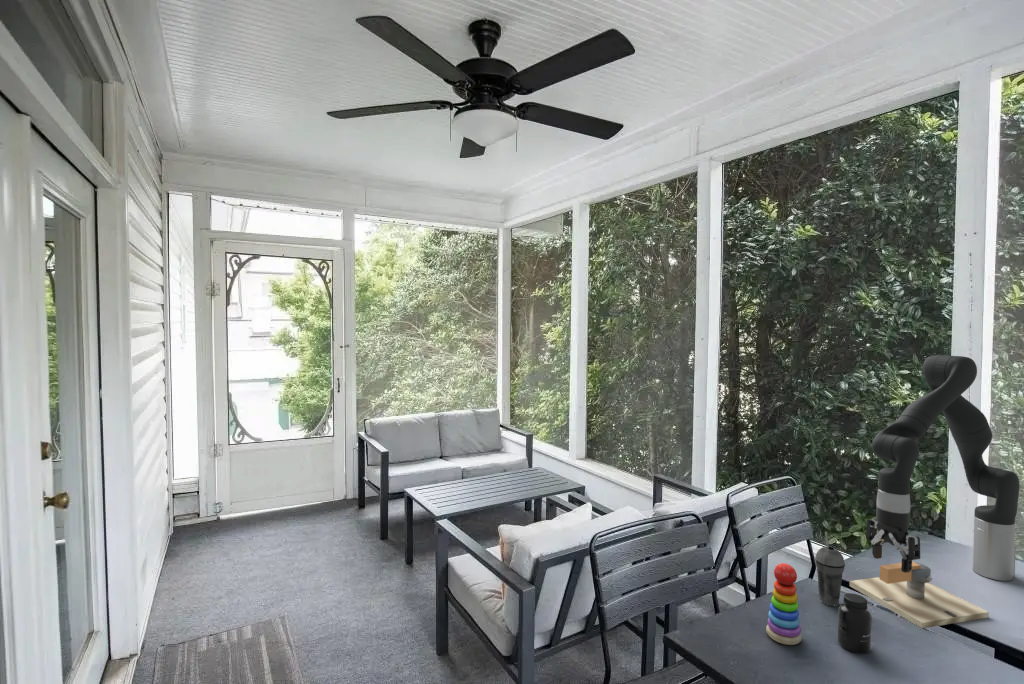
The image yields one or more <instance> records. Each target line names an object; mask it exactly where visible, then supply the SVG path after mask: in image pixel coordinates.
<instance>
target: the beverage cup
mask: <svg viewBox="0 0 1024 684" xmlns="http://www.w3.org/2000/svg"><path fill="white" fill-rule="evenodd" d="M824 533H825V534H824V535H825V544H826V546H823V547H821V548H819V549H818V550H817V552H816V554H815V558H814V560H815V567H816V572H817V585H818V595H819V601H820V600H821V601H822V602H823V603H825V604H828V605H833V606H832V607H837V606H836V605H839V602H840V598H841V589H842V582H843V581H842V580H843V573H844V570H845V566H846V564H845V559H844V556H843V555H842V553H841V552H840V551H839V550H838V549H836V548H835V547H832V546H829V537H828V531H825V532H824ZM821 601H820V602H821ZM822 602H821V603H822ZM823 603H822V604H823ZM825 604H824V605H825ZM828 605H827V606H828ZM834 605H835V606H834Z"/></svg>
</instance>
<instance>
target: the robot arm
mask: <svg viewBox="0 0 1024 684" xmlns="http://www.w3.org/2000/svg"><path fill="white" fill-rule="evenodd" d="M922 372H923V376H924V380H925V382H926V384H927V385H928V387H929V389H930V392H928V393H926V394H924V395H923V396H921V397H919V398H917V399H915V400H913V401H912V402H910V403H909V405H907V406H906V408H904V409H903V411H902V412H901V414H900V415H899V417H898V418H897V419H896V420H895V421H894V422H892V423H890V424H889V425H887V426H886V427H885V428H883V429H882V430H881V431H879V432H878V433H877V434H876V435H875V436H874V438H873V440H872V442H871V451H872V453H873V454H874V455H875V456H876V457H878V458H881V459H884V460H889V461H893V462H896V465H895V467H882V468H881V469H879V471H878V481H877V482H878V488H877V494H876V510H875V511H876V512H875V518H871V519H867V521H866V528H865V529H866V531H865V539H866V540H868V541H869V542H870V543H871V545H872V552H871V553H872V555H873V558H874V559H877V560H879V559H882V558H883V545H882V544H883V543H884V542H885V543H889V544H890V545H892V546H894V547H895V549H896V550H897V551H898V552H899V553H900V555H901V557H902V558H901V563H902V567H901V571H902V572H904V573H907V572H910V571H911V570H912V562H913V561H915V560H920V559H921V538H920V537H919V536H913V535H910V534H909V531H908V529H909V528H910V526H911V525H910V524H911V523H910V522H911V496H910V491H911V486H910V485H911V479H912V478H911V477H912V475H913V471H914V468H915V466H916V464H917V461H918V459H919V456H920V447H919V445H918V443H917V442H916V441H915V440H919V439H922V438H923V437H924V436H925V434H926V433H927V432H928V430H929V429H930V427H931V426H932V424H933V423H935V420H936V419H937V418H938V416H939V415H940V414H941V413H943V416H944V418H945V420H946V423H947V426H948V428H949V431H950V433H951V436H952V438H953V440H954V442H955V444H956V447H957V450H958V453H959V455H960V458H961V461H962V465H963V468H964V473H965V476H966V479H967V483H968V485H969V487H970V488H971V490H972V491H973V492H974V493H977V494H979V495H981V496H986V497H989V498H993V499H995V502H994V504H992V505H989V504H988V505H978V506H976V507H975V508H974V517H973V518H974V519H973V545H972V547H973V548H972V549H973V550H972V571H973V572H974V573H976V574H978V575H979V576H982V577H985V578H988V579H990V580H996V581H1002V582H1008V581H1012V580H1014V577H1015V576H1016V552H1017V551H1016V549H1017V548H1016V546H1015V530H1016V529H1015V527H1016V516H1017V512H1018V505H1019V495H1020V479H1019V476H1018V474H1016V472H1014V471H1012V470H1009V469H1008V470H1007V469H1002V468H1000V467H999V468H998V467H993V466H989V465H988V464H986V462H985V461H984V457H983V455H984V453H985V451H986V450H987V448H988V447H989V446H990V444H991V442H992V439H993V433H992V429H991V427H990V424H989V421H988V420H987V419H988V418H987V417H986V416H985V414H984V413H983V412H982V411H981V410H980V409H979V408H978V407H977V406H975V405H974V404H973V403H972V402H971V401H969V400H968V399H967V398H965V397H964V396H962V394H963V393H965V392H966V391H967V390H968V389H969V388H971V386H973V385H972V384H973V383H974V382H975V380H976V379H977V376H978V367H977V364H976V361H974V360H973V358H971V357H968V356H963V355H962V356H961V355H944V354H943V355H942V354H937V355H929V356H927V357H926V358H925V360H924V362H923V365H922ZM902 545H903V546H902Z"/></svg>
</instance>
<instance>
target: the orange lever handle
mask: <svg viewBox="0 0 1024 684" xmlns="http://www.w3.org/2000/svg"><path fill="white" fill-rule="evenodd" d="M901 567H902V562H897V563H889V564H882V565H881V564H880V566H879V577H880V580H882V581H883V582H885V583H887V584H890V583H897V582H904V581H915V582H919V583H931V581H932V580H933V577H932V576H931V574H932V572H931V571H932V570H931V568H930V567H929V566H927V565H924V564H922V563H919V562H915V561H912V570H911V571H910V572H907V573H904V572H902V571H901Z"/></svg>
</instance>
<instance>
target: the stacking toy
mask: <svg viewBox="0 0 1024 684" xmlns="http://www.w3.org/2000/svg"><path fill="white" fill-rule="evenodd" d="M773 575H774V577H775V579H776V580H775V581H774V582H773V588H774V589H772V597H771V599H770V601H771V602H770V604H769V611H768V619H767V625H766V626H765V628H766V629H765V631H766V634H767V635H768V637H770V639H772V640H773V641H775V642H777V643H779V644H783V645H787V646H795V645H798V644H799V643H801V641H802V640H803V639H802V638H803V636H802V626H801V624H800V623H801V622H800V620H801V619H800V618H799V616H800V612H799V603H798V600H799V597H798V594H797V586H796V585H795V583H796V581H797V578H798V574H797V571H796V569H795V568H794V567H793V566H792V565H791V564H788V563H784V562H783V563H778V564H777V565H776V566H775V567H774V569H773Z"/></svg>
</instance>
